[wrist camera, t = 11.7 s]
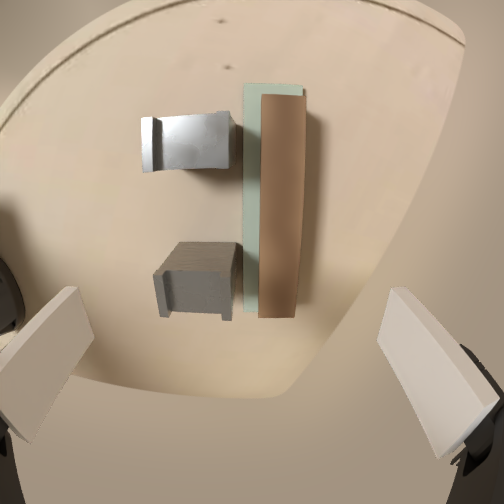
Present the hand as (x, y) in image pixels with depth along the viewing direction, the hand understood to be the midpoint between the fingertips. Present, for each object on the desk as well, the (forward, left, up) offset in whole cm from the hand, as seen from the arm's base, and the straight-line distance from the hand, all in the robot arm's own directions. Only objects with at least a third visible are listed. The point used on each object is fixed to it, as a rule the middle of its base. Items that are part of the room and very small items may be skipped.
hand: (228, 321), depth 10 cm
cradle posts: (-4, +1, -18) cm, 18 cm away
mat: (+3, +1, -18) cm, 18 cm away
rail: (+3, +1, -17) cm, 17 cm away
